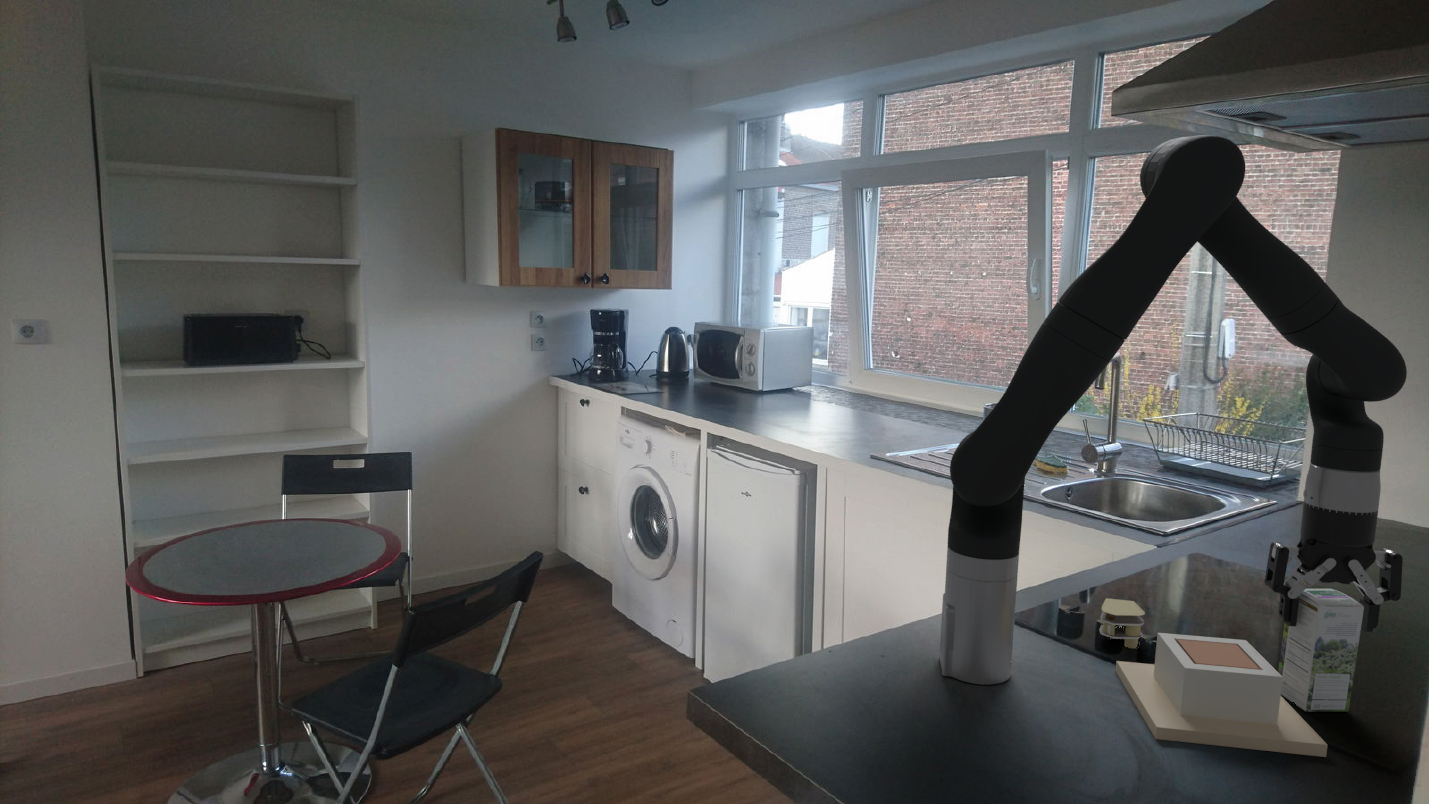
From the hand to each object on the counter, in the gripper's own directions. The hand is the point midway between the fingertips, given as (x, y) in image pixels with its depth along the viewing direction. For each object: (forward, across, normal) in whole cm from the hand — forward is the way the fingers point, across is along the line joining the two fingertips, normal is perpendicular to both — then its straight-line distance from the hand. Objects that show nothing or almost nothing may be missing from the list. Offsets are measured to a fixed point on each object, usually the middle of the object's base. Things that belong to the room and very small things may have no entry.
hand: (1326, 627), depth 109 cm
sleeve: (+10, -14, -5) cm, 18 cm away
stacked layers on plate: (+11, -20, +15) cm, 27 cm away
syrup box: (+10, -1, 0) cm, 11 cm away
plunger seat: (+4, -14, -5) cm, 15 cm away
